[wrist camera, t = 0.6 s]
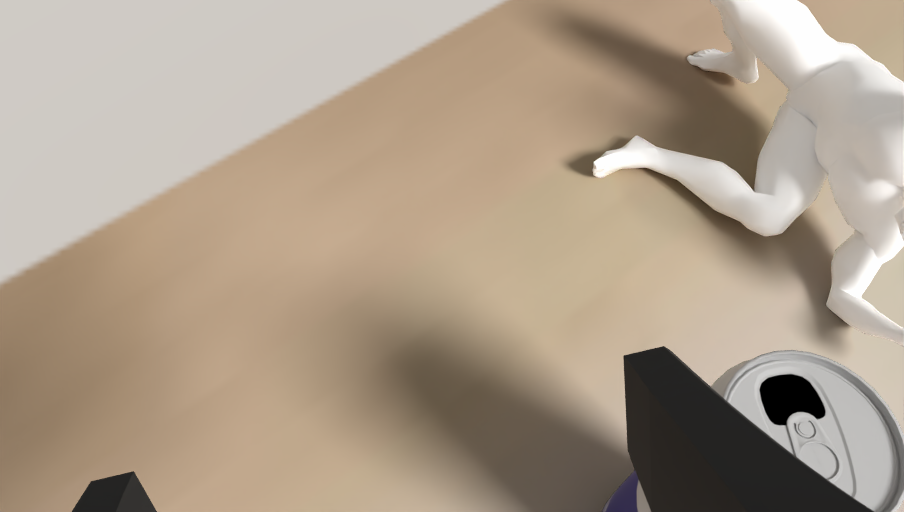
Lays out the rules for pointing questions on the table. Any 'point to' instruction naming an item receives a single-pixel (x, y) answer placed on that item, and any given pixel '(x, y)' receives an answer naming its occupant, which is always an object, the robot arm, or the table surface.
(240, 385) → the table surface
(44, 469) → the table surface
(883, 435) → the energy drink
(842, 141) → the person figurine
